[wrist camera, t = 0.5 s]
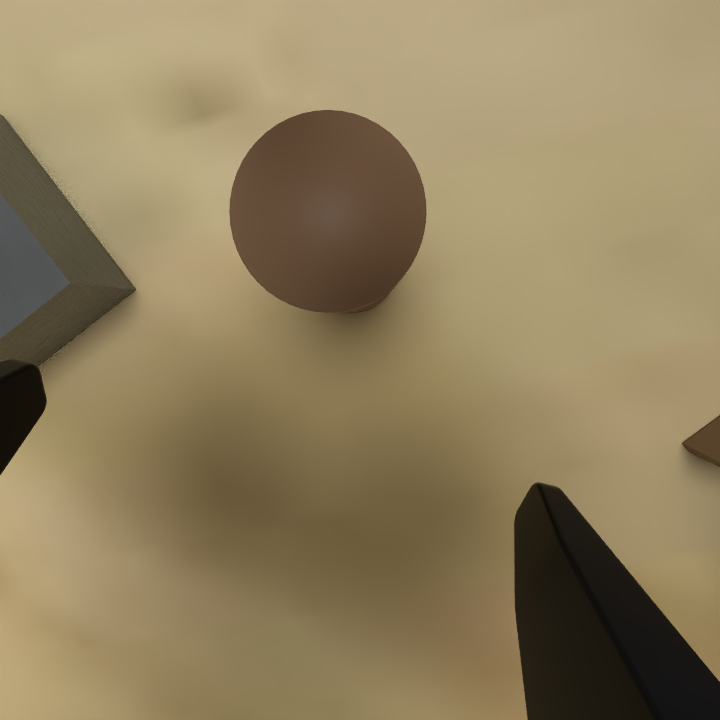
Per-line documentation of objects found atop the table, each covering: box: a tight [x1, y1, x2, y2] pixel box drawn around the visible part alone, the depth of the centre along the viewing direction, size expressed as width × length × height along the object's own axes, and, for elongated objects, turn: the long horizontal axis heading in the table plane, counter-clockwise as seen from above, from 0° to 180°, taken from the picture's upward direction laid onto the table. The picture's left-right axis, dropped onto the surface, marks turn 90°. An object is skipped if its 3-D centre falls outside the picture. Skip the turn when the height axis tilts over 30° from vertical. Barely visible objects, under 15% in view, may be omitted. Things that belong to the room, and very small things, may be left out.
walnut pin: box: [230, 110, 426, 312], centre depth 16 cm, size 4×4×13 cm
